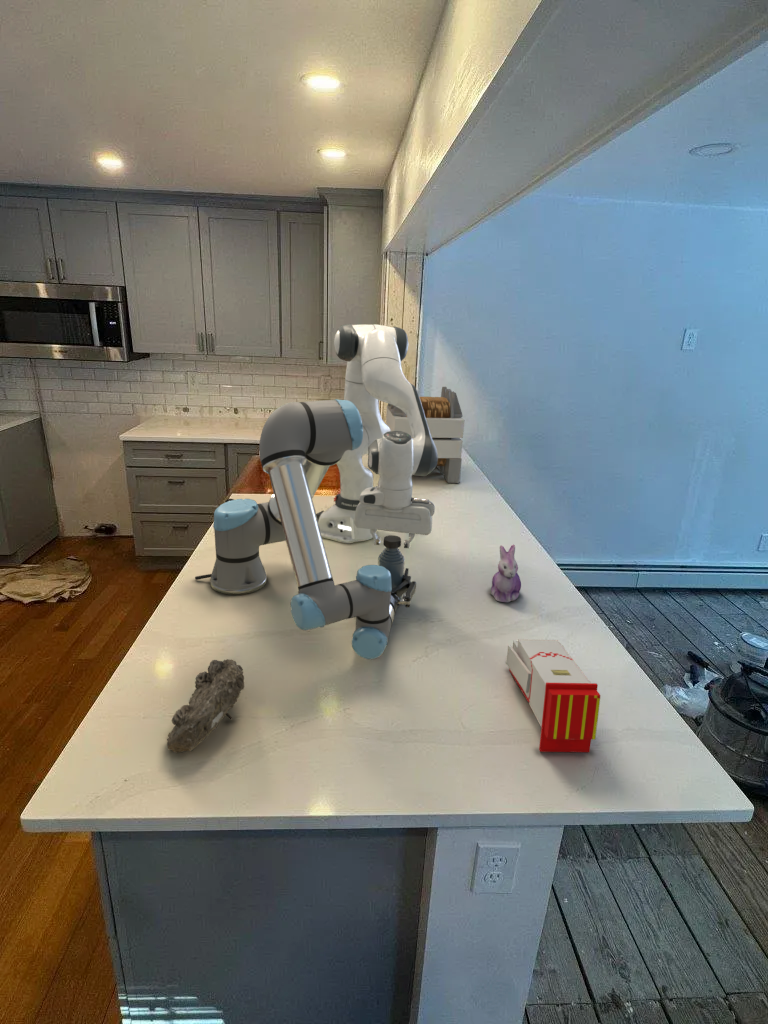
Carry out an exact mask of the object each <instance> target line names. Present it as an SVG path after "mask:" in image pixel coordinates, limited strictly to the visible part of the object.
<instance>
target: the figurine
mask: <svg viewBox="0 0 768 1024" xmlns="http://www.w3.org/2000/svg"><path fill="white" fill-rule="evenodd" d="M515 552H516V545H515V544H512V545H510V547H509V549H508V551H507V550H506V548H505V547H504V546H503V545H500V546H499V562H498V564H497V570H498V571H497V572H495V573H494V574H493V576H492V579H491V588H490V593H491V596H492V597H493V598H494V600H496V601H497V602H501V603H510V602H511V601H512V602H514V601H516V600H517V599H518V598H519V596H520V592H521V590H522V581H521V578H520V575H519V574H518V571H519V565H518V563H517V560H516V559H515Z"/></svg>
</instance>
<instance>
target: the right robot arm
mask: <svg viewBox="0 0 768 1024" xmlns="http://www.w3.org/2000/svg"><path fill="white" fill-rule="evenodd" d="M408 337H409V336H408V334H407V332H406V331H405V329H403V328H401V327H399V326H389V325H383V324H377V323H376V324H375V323H372V324H367V323H366V324H365V323H364V324H352V323H347V324H346V323H345V324H342V325H340V326H339V327H338V328H337V329H336V333H335V334H334V338H333V347H334V351H335V355H336V356H337V357H338V358H339V360H341V361H344V362H346V368H345V378H344V389H343V390H344V393H343V400H348V401H351V402H352V403H353V404H354V405H355V406H356V407H357V409H358V411H359V413H360V416H361V420H362V425H363V440H362V443H361V445H360V447H359V448H357V449H354V450H347V451H345V452H344V454H343V456H342V458H341V459H340V461H339V462H338V463H336V464H335V465H336V466H337V468H338V469H337V470H338V472H339V482H340V484H339V485H340V488H339V489H340V490H339V491H338V492H337V494H336V495H335V496H334V497H333V502H334V504H333V505H331V506H329V507H328V508H326V509H325V510H321V511H319V512H316V516H317V520H318V524H319V527H320V531H321V535H322V539H326V540H330V541H336V542H339V543H343V544H352V543H357V542H365V541H368V540H372V539H373V545H374V546H381V543H382V541H381V540H382V539H381V538H382V537H381V536H378V533H377V531H385V532H394V533H402V534H408V537H409V538H408V539H404V543H403V549H408V550H410V548H411V542H412V541H413V540H414V539H415V537H416V535H420V536H421V535H422V536H429V535H430V534H431V533H432V531H433V515H434V514H435V511H436V510H435V509H436V507H435V504H434V502H432V501H430V499H428V498H418V497H413V485H414V484H413V477H412V476H418V477H419V476H420V477H426V476H428V475H430V474H431V473H432V472H433V471H434V470H435V469H436V468H437V462H438V455H437V449H436V446H435V444H434V441H433V439H432V437H431V434H430V431H429V428H428V424H427V421H426V418H425V414H424V411H423V407H422V404H421V401H420V398H419V397H420V395H419V391H418V390H417V388H416V385H414V384H412V383H411V382H409V380H408V379H407V377H406V376H405V374H404V372H403V369H402V361H404V359H405V358H406V357H407V354H408V351H409V339H408ZM379 401H380V402H382V403H386V404H388V403H389V404H391V405H393V406H396V407H398V408H399V409H401V410H402V411H403V412H404V413H405V414H406V415H407V418H408V421H409V425H410V428H411V432H412V435H413V438H412V436H411V435H409V434H408V433H405V432H402V431H391V430H390V428H389V427H388V425H387V423H386V422H385V421H384V420H383V418H382V415H381V412H380V405H379ZM364 456H367V467H366V466H364V464H363V457H364ZM373 473H374V474H375V475H379V478H378V481H377V486H374V474H373ZM231 500H235V499H234V498H228V499H226V500H225V501H224V503H225V502H228V501H231Z"/></svg>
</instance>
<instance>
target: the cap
mask: <svg viewBox="0 0 768 1024" xmlns="http://www.w3.org/2000/svg"><path fill="white" fill-rule="evenodd" d="M382 543H383V544H382V545H383V547H385V548H386V547H387V548H391V549H395V548H398V549H400V548H401V547H402V537H400V536H398V535H394V534H392V535H391V534H390V535H389V534H388V535H385V536H383V542H382Z"/></svg>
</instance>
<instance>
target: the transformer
mask: <svg viewBox="0 0 768 1024" xmlns="http://www.w3.org/2000/svg"><path fill="white" fill-rule="evenodd" d="M440 393H441V394H440V396H419V398H420V401H421V404H422V407H423V411H424V414H425V418H426V421H427V424H428V428H429V431H430V434H431V437H432V439H433V441H434V444H435V446H436V449H437V455H438V462H437V466H436V468H437V470H438V469H439V473H440V474H441V475H443V478H444V479H445V481H446V482H447V483H449V484H455V483H456V484H459V483H461V472H462V461H463V460H462V453H463V442H464V441H463V440H462V439H463V438H464V431H465V430H464V429H465V419H464V418H463V411H462V408H461V405H460V402H459V398H458V395H457V392H455V391H453V390H452V389H451V388H447V386H442V387H441V392H440ZM385 414H386V415H385V424H387V425H388V427H389V428H390V430H391V431H402V432H405V433H408V434H409V435H411V436H412V438H413V435H412V432H411V428H410V425H409V421H408V418H407V415H406V414H405V413H404V412H403V411H402V410H401V409H399V408H398V407H396V406H393V405H391V404H389V403H387V405H386V413H385Z"/></svg>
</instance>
